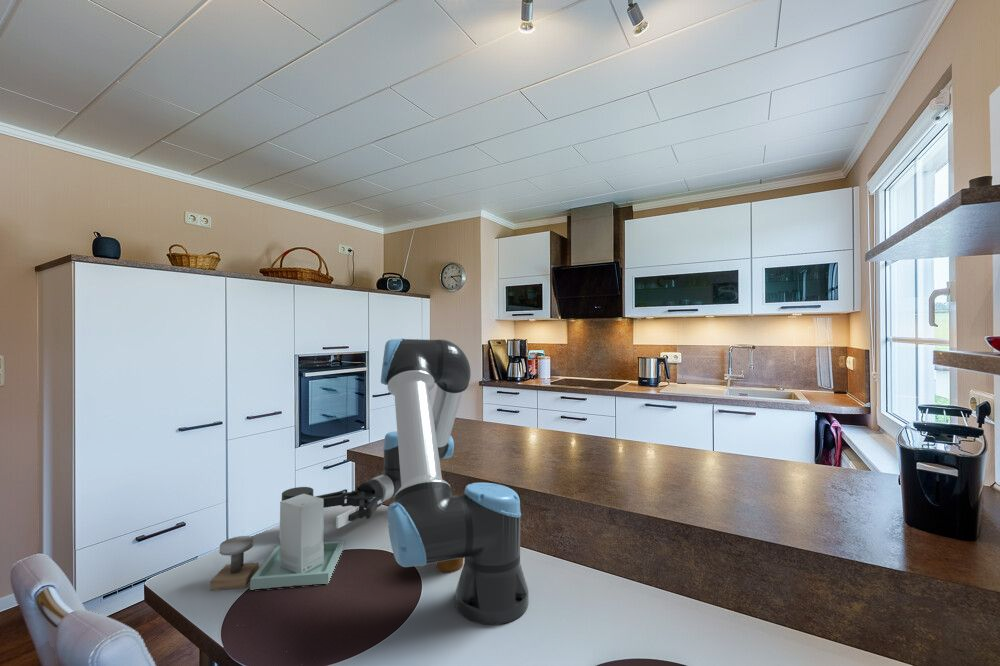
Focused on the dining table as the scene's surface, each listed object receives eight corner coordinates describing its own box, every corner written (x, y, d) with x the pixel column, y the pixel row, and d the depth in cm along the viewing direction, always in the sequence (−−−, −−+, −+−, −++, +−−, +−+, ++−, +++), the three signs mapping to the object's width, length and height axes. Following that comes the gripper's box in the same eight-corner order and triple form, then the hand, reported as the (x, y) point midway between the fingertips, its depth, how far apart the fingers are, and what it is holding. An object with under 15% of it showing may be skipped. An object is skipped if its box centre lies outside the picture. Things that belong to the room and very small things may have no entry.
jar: (283, 544, 110) (285, 498, 111) (274, 534, 116) (276, 491, 117) (318, 534, 116) (319, 491, 117) (308, 525, 122) (309, 484, 123)
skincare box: (324, 564, 99) (326, 498, 99) (298, 577, 93) (300, 507, 94) (302, 555, 103) (304, 492, 104) (277, 567, 97) (279, 500, 98)
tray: (328, 584, 91) (328, 573, 91) (249, 590, 88) (250, 579, 89) (343, 550, 107) (343, 540, 107) (277, 555, 104) (277, 545, 104)
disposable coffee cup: (475, 560, 102) (476, 510, 103) (458, 579, 93) (458, 525, 94) (442, 553, 106) (442, 505, 106) (422, 571, 97) (422, 519, 97)
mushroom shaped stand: (245, 587, 90) (246, 548, 90) (210, 590, 89) (211, 550, 89) (258, 570, 97) (259, 534, 97) (225, 573, 95) (227, 536, 96)
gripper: (409, 511, 117) (354, 542, 97) (342, 498, 127) (281, 524, 107) (409, 484, 117) (355, 510, 97) (342, 473, 127) (281, 495, 108)
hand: (316, 517), depth 102 cm, fingers open, 13 cm apart
